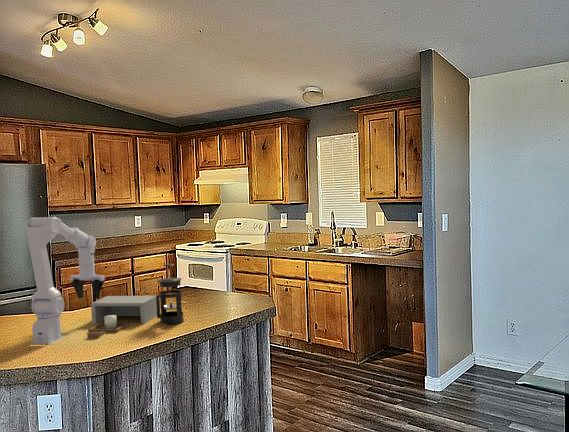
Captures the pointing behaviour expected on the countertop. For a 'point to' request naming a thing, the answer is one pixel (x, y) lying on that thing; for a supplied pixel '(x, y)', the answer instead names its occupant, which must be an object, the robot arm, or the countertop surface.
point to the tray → (104, 330)
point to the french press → (170, 316)
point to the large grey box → (124, 307)
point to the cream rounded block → (110, 321)
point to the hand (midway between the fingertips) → (88, 298)
